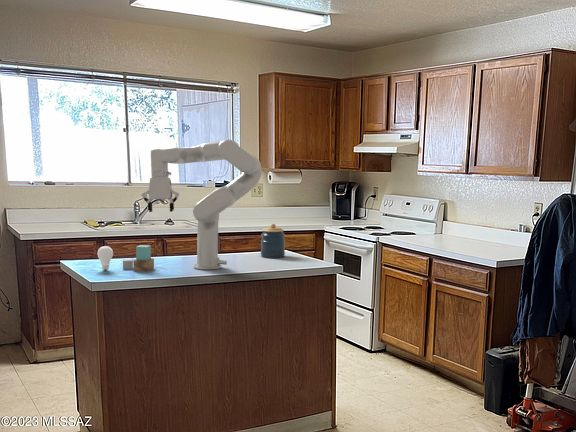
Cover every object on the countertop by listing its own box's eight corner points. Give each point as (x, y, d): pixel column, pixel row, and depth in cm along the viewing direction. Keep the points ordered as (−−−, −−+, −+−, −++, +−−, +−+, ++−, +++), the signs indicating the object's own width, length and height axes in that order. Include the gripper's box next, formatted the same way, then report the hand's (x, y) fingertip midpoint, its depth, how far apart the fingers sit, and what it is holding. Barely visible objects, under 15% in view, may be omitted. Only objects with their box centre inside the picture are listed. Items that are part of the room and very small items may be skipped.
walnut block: (154, 269, 241) (153, 258, 241) (149, 271, 234) (149, 260, 234) (139, 268, 242) (138, 257, 241) (133, 271, 235) (133, 260, 234)
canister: (269, 259, 273) (270, 225, 272) (255, 255, 283) (256, 223, 282) (289, 257, 281) (290, 224, 279) (275, 253, 291) (276, 222, 290)
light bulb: (94, 270, 234) (94, 245, 233) (109, 268, 239) (109, 244, 238) (101, 272, 230) (101, 247, 229) (116, 270, 234) (115, 246, 233)
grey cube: (132, 267, 243) (132, 259, 242) (132, 269, 239) (132, 260, 239) (123, 267, 242) (123, 259, 242) (123, 269, 238) (122, 260, 238)
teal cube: (150, 258, 240) (150, 245, 239) (147, 260, 235) (147, 247, 234) (140, 258, 240) (140, 245, 240) (136, 259, 235) (136, 246, 235)
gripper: (180, 174, 248) (181, 210, 249) (143, 175, 248) (144, 211, 249) (176, 174, 240) (177, 212, 242) (138, 175, 240) (140, 212, 242)
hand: (161, 211), depth 245 cm, fingers open, 9 cm apart
